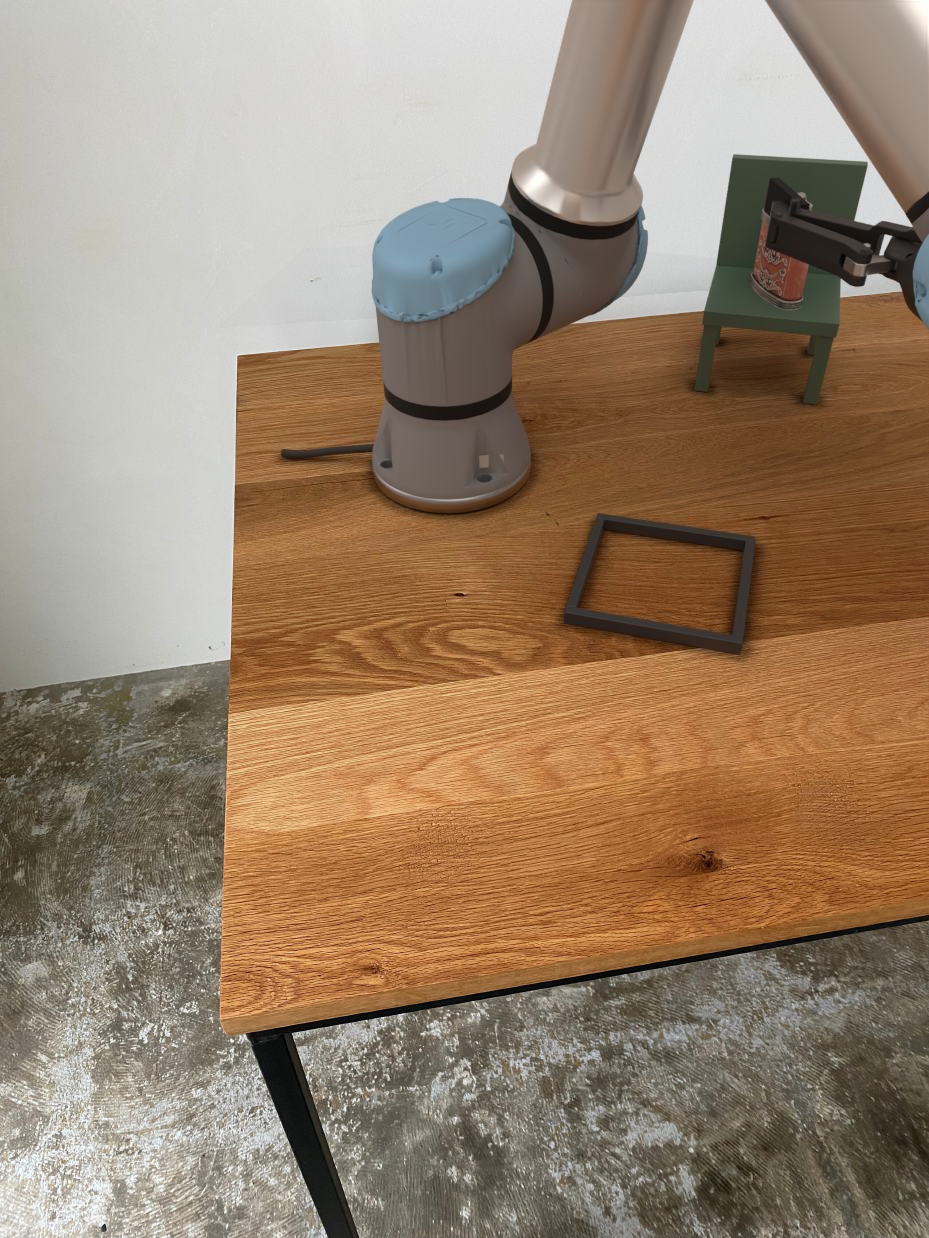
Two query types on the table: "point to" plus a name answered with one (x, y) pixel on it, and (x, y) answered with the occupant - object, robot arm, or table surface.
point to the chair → (730, 292)
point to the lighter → (778, 273)
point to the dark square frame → (659, 629)
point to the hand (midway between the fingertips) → (846, 188)
